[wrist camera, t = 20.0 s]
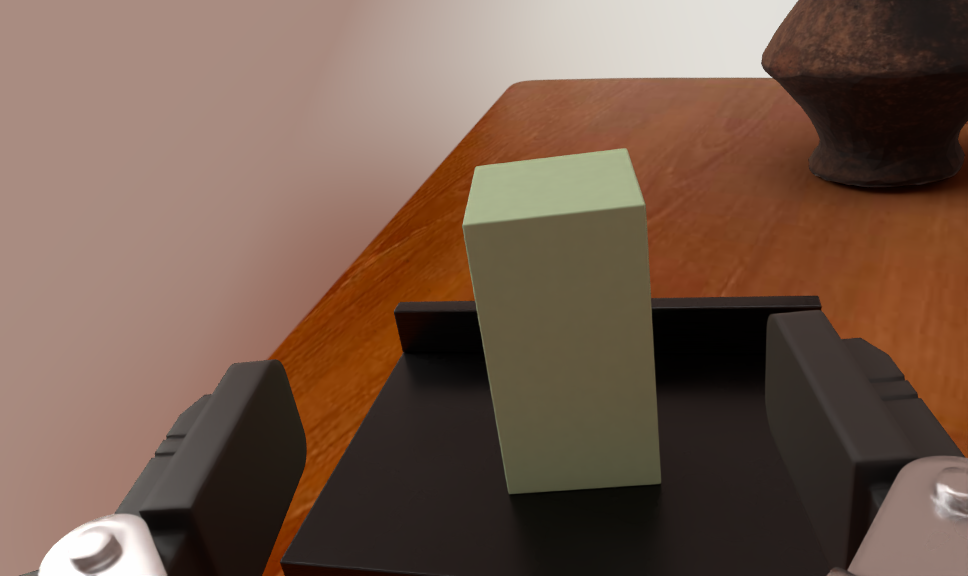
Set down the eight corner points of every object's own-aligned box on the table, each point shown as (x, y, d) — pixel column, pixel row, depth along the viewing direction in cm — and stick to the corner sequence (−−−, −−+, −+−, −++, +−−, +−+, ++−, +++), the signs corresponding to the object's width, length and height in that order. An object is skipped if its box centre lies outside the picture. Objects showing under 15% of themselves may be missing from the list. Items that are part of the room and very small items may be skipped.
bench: (340, 729, 26) (260, 510, 22) (440, 483, 36) (399, 301, 32) (860, 806, 22) (891, 553, 17) (807, 503, 32) (818, 294, 27)
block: (508, 494, 24) (461, 224, 20) (513, 405, 28) (474, 165, 24) (661, 484, 23) (646, 203, 19) (643, 394, 27) (627, 147, 23)
